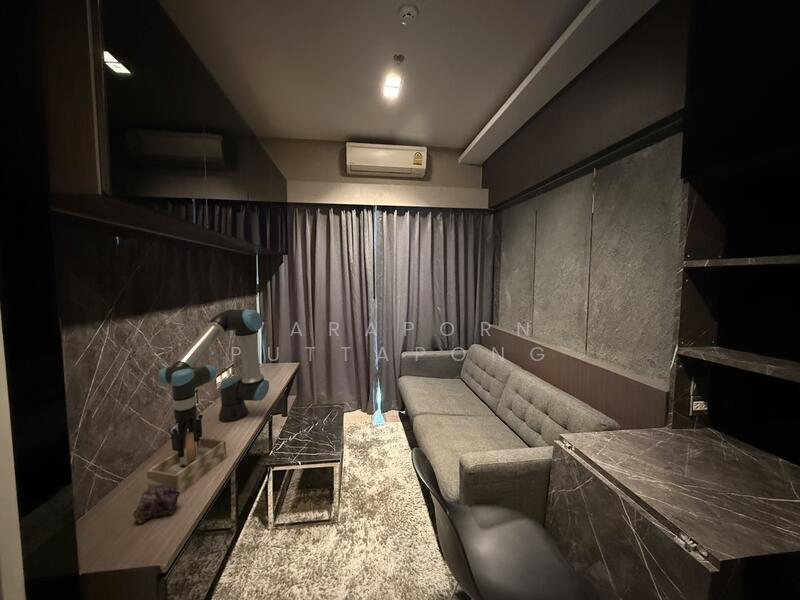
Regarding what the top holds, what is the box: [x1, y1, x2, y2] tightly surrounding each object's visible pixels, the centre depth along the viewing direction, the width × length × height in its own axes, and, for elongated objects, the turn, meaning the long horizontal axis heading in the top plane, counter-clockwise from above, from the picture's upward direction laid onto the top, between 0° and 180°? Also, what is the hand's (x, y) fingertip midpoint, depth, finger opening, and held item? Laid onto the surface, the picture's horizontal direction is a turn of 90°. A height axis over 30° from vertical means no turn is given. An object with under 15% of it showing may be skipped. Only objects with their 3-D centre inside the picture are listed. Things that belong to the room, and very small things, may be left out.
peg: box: [184, 430, 196, 468], centre depth 125 cm, size 4×4×15 cm
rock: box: [132, 485, 180, 524], centre depth 105 cm, size 12×9×10 cm
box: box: [146, 436, 227, 495], centre depth 126 cm, size 24×14×8 cm, turn 167°
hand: (189, 459), depth 126 cm, fingers closed on peg, 4 cm apart
